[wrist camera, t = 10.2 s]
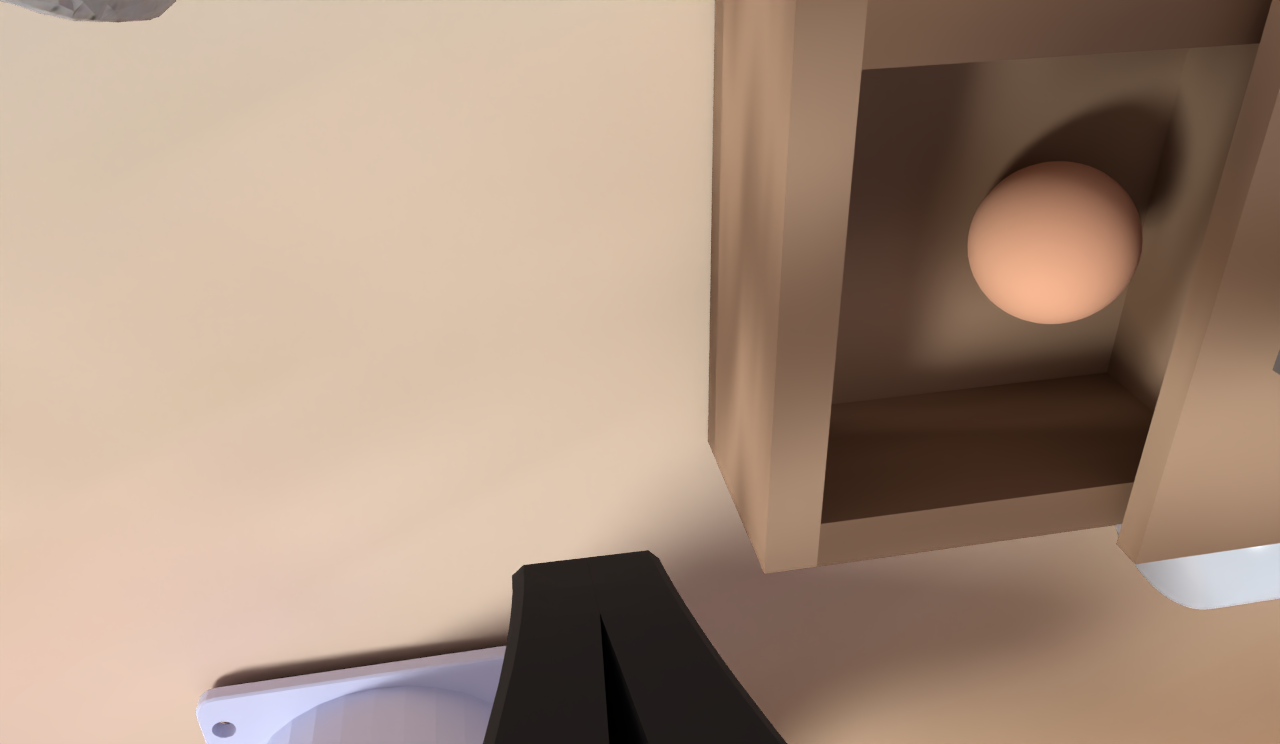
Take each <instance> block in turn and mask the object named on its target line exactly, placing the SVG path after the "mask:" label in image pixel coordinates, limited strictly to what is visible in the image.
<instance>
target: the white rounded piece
mask: <svg viewBox="0 0 1280 744" xmlns="http://www.w3.org/2000/svg"><path fill="white" fill-rule="evenodd" d="M1121 526H1122V524H1118V525H1115V527H1116V530H1117V533H1118V535H1119V533H1120V530H1121ZM1133 563H1134V562H1133ZM1134 564H1135V563H1134ZM1135 566H1136V567H1137V569H1138V570H1139V571H1140V572H1141V574H1142V575H1143V576H1144V577H1145V578H1146V580H1147V581H1148V582H1149V583H1150V584H1151V585H1152V586H1153V587H1154V588H1156V589H1157V590H1158V591H1159V592H1160V593H1161V594H1163V595H1164V596H1166V597H1167V598H1169V599H1170V600H1172V601H1174V602H1176V603H1178V604H1180V605H1182V606H1186V607H1189V608H1193V609H1202V610H1204V609H1214V608H1221V607H1227V606H1234V605H1240V604H1247V603H1254V602H1260V601H1267V600H1273V599H1280V543H1278V544H1271V545H1264V546H1257V547H1251V548H1244V549H1237V550H1230V551H1223V552H1216V553H1210V554H1203V555H1196V556H1189V557H1182V558H1176V559H1169V560H1162V561H1155V562H1148V563H1141V564H1135Z"/></svg>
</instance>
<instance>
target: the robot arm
mask: <svg viewBox="0 0 1280 744" xmlns="http://www.w3.org/2000/svg"><path fill="white" fill-rule="evenodd" d="M512 589H513V595H512V608H511V618H510V626H509V632H508V638H507V644H506V646H500V647H493V648H486V649H479V650H472V651H466V652H459V653H452V654H445V655H438V656H431V657H424V658H417V659H410V660H404V661H397V662H390V663H383V664H376V665H369V666H362V667H355V668H348V669H341V670H335V671H328V672H321V673H314V674H307V675H300V676H293V677H286V678H279V679H273V680H266V681H259V682H252V683H245V684H238V685H231V686H224V687H217V688H214V689H210V690H208V691H206V692H205V693H203V694H202V695H201V697H200V699H199V701H198V705H197V709H196V717H197V720H198V722H199V725H200V728H201V731H202V733H203V736H204V739H205V742H206V744H787V743H786V742H785V740H784V739H783V738H782V737H781V735H780V734H779V733H778V732H777V731H776V729H775V728H774V727H773V725H772V724H771V723H770V722H769V720H768V719H767V718H766V716H765V715H764V714H763V712H762V711H761V710H760V709H759V707H758V706H757V705H756V703H755V702H754V701H753V699H752V698H751V697H750V696H749V694H748V693H747V692H746V690H745V689H744V688H743V686H742V685H741V684H740V683H739V681H738V680H737V679H736V677H735V676H734V675H733V673H732V672H731V670H730V669H729V668H728V666H727V665H726V664H725V662H724V661H723V659H722V658H721V657H720V655H719V654H718V652H717V651H716V649H715V648H714V647H713V645H712V644H711V642H710V641H709V639H708V638H707V636H706V635H705V633H704V632H703V630H702V629H701V628H700V626H699V625H698V623H697V622H696V620H695V619H694V617H693V615H692V614H691V612H690V611H689V609H688V608H687V606H686V605H685V603H684V601H683V600H682V598H681V597H680V595H679V593H678V592H677V590H676V588H675V587H674V585H673V583H672V581H671V580H670V578H669V576H668V575H667V573H666V571H665V569H664V567H663V565H662V563H661V562H660V560H659V558H658V557H656V556H655V555H654V554H652V553H651V552H650V551H648V550H647V551H639V552H631V553H622V554H614V555H605V556H597V557H588V558H580V559H572V560H563V561H555V562H546V563H538V564H529V565H523V566H522V567H521V568H520V569H519V570H518V571H517V572H516V573H515V574H514V575H512ZM220 722H229V723H231V724H223V723H220Z"/></svg>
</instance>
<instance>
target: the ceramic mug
mask: <svg viewBox="0 0 1280 744" xmlns="http://www.w3.org/2000/svg"><path fill="white" fill-rule="evenodd" d="M0 1H1V2H7V3H11V4H14V5H17V6H20V7H23V8H26V9H29V10H32V11H35V12H37V13H41V14H45V15H50V16H55V17H59V18H64V19H68V20H73V21H100V22H127V21H142V20H151V19H153V18H156V17H159V16H160V15H162V14H163V13H164V12H165V11H166V10H167V9H168V8H169V7H170V6H171V5H172V4H173V3H175V2H176V0H0Z"/></svg>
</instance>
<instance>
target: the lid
mask: <svg viewBox="0 0 1280 744" xmlns="http://www.w3.org/2000/svg"><path fill="white" fill-rule="evenodd" d="M1278 543H1280V0H1272V3H1271V6H1270V9H1269V13H1268V16H1267V20H1266V23H1265V27H1264V30H1263V34H1262V37H1261V41H1260V44H1259V48H1258V51H1257V55H1256V58H1255V62H1254V65H1253V69H1252V72H1251V76H1250V79H1249V83H1248V86H1247V90H1246V93H1245V97H1244V100H1243V104H1242V107H1241V111H1240V114H1239V118H1238V121H1237V125H1236V128H1235V132H1234V135H1233V139H1232V142H1231V146H1230V149H1229V153H1228V156H1227V160H1226V163H1225V167H1224V170H1223V174H1222V177H1221V181H1220V184H1219V188H1218V191H1217V195H1216V198H1215V202H1214V205H1213V208H1212V212H1211V215H1210V219H1209V222H1208V226H1207V229H1206V233H1205V236H1204V240H1203V243H1202V247H1201V250H1200V254H1199V257H1198V261H1197V264H1196V268H1195V271H1194V275H1193V278H1192V282H1191V285H1190V289H1189V292H1188V296H1187V299H1186V303H1185V306H1184V310H1183V313H1182V317H1181V320H1180V324H1179V327H1178V331H1177V334H1176V338H1175V341H1174V345H1173V348H1172V352H1171V355H1170V359H1169V362H1168V366H1167V369H1166V373H1165V376H1164V380H1163V383H1162V387H1161V390H1160V394H1159V397H1158V400H1157V404H1156V407H1155V411H1154V414H1153V418H1152V421H1151V425H1150V428H1149V432H1148V435H1147V439H1146V442H1145V446H1144V449H1143V453H1142V456H1141V460H1140V463H1139V467H1138V470H1137V474H1136V477H1135V481H1134V484H1133V488H1132V491H1131V495H1130V498H1129V502H1128V505H1127V509H1126V512H1125V516H1124V519H1123V523H1122V526H1121V530H1120V533H1119V537H1118V540H1117V545H1118V546H1119V547H1120V548H1121V549H1122V550H1123V551H1124V552H1125V554H1126V555H1127V556H1128V557H1129V558H1130V559H1131V560H1132V561H1133V562H1134V563H1135V564H1141V563H1148V562H1155V561H1162V560H1169V559H1176V558H1182V557H1189V556H1196V555H1203V554H1210V553H1216V552H1223V551H1230V550H1237V549H1244V548H1251V547H1257V546H1264V545H1271V544H1278Z"/></svg>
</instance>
